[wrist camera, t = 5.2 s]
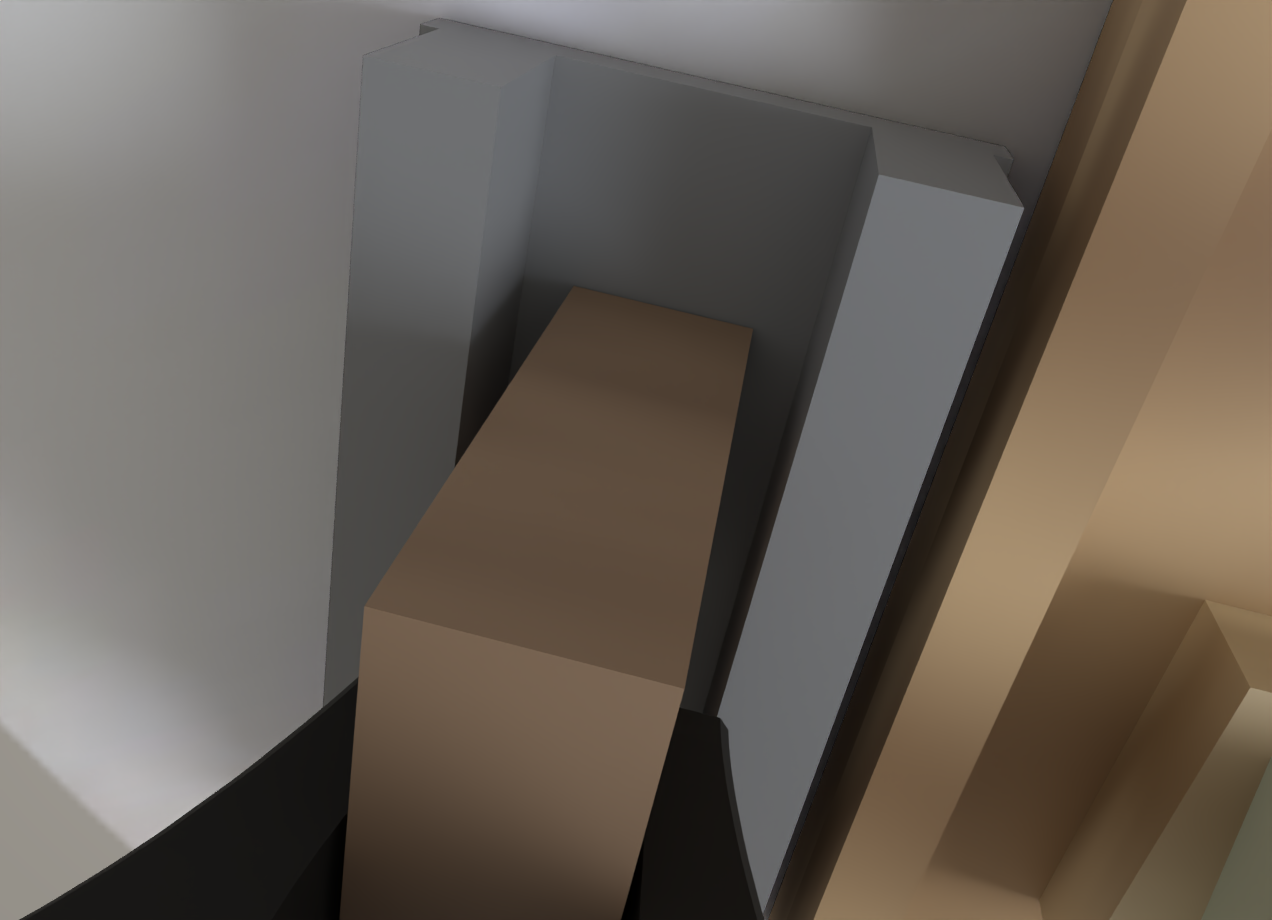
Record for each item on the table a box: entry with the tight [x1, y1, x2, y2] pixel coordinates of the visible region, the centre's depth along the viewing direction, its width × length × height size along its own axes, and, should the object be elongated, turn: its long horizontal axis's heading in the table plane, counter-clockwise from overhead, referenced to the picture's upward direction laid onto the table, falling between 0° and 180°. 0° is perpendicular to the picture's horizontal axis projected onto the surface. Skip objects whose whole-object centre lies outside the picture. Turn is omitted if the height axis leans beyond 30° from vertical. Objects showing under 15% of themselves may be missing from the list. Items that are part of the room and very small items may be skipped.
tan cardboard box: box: [339, 286, 753, 920], centre depth 11 cm, size 8×2×6 cm, turn 169°
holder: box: [323, 18, 1024, 913], centre depth 13 cm, size 12×6×3 cm, turn 169°
